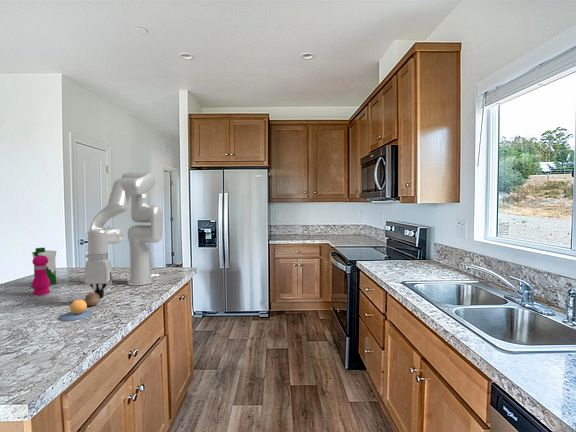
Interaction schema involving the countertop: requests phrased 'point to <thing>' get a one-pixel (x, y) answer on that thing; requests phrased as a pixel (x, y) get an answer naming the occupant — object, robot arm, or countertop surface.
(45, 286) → the pepper mill
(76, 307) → the object ball
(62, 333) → the countertop surface
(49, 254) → the milk carton
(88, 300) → the brown egg
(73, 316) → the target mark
